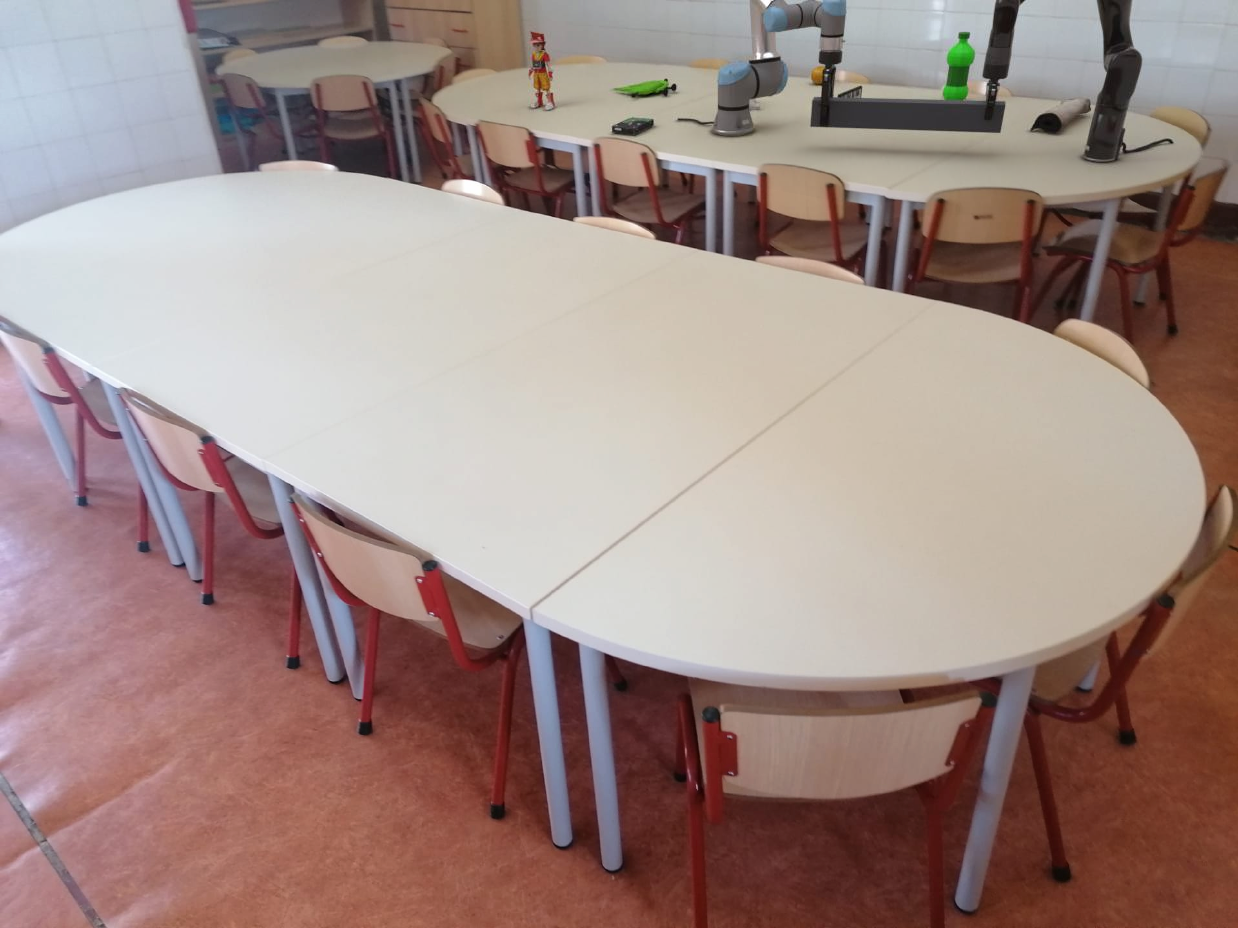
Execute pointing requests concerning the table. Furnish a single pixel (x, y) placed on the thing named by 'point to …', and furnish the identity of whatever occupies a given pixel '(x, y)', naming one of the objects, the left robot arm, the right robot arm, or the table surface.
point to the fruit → (817, 74)
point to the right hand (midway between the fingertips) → (987, 117)
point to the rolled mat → (1061, 115)
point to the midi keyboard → (852, 93)
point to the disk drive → (632, 126)
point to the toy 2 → (648, 88)
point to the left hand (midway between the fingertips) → (825, 123)
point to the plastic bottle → (959, 68)
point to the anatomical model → (753, 104)
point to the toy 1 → (541, 71)
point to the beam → (910, 114)
